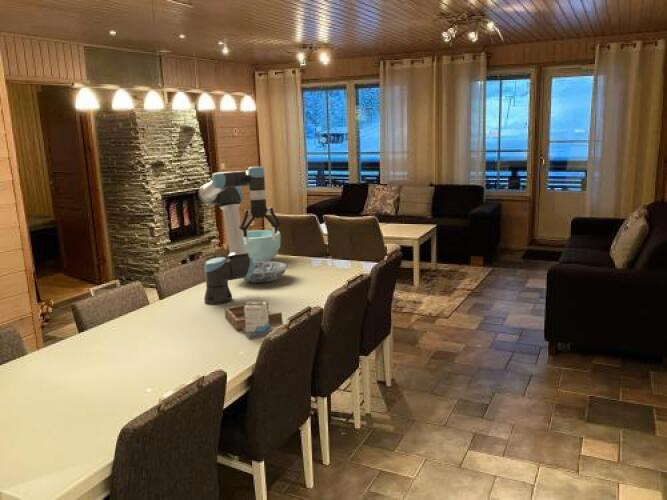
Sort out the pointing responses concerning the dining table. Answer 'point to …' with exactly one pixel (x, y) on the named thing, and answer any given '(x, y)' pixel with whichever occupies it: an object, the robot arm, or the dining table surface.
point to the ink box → (256, 316)
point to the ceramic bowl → (267, 271)
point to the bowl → (262, 245)
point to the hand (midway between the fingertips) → (261, 241)
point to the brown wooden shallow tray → (238, 311)
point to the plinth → (257, 333)
